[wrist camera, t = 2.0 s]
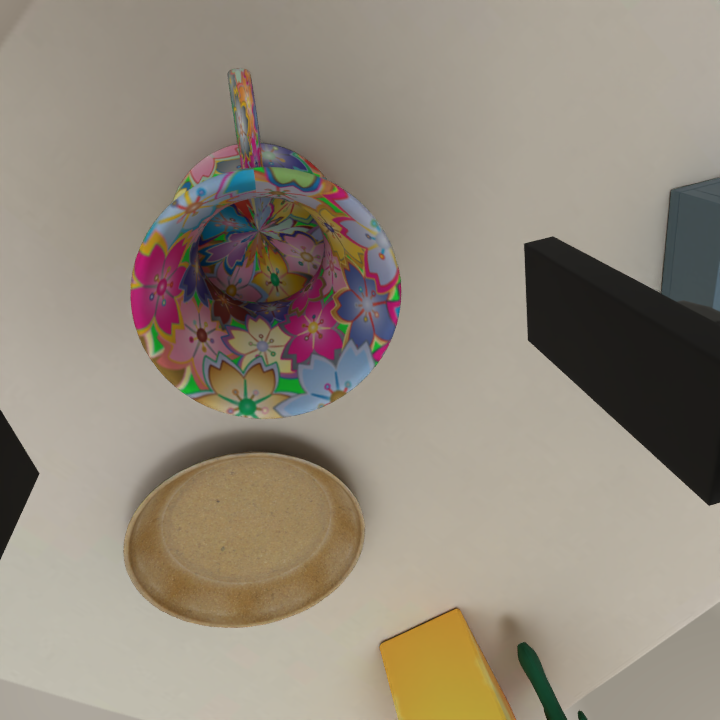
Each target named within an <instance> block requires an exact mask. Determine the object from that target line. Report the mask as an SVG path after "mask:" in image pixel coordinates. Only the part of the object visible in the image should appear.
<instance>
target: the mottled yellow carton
mask: <svg viewBox="0 0 720 720" xmlns="http://www.w3.org/2000/svg"><path fill="white" fill-rule="evenodd" d="M517 649H518V658H519V662H520V664H521V666H522V668H523V670H524V672H525V673H526V675H527V676H528V678H529V680H530V681H531V683H532V685H533V687H534V689H535V691H536V693H537V695H538V697H539V699H540V701H541V703H542V705H543V707H544V713H545V716H546V718H547V720H567V718H566V716H565V714H564V712H563V711H562V709H561V707H560V705H559V702H558V700H557V698H556V696H555V694H554V692H553V690H552V688H551V686H550V684H549V682H548V680H547V678H546V675H545V673H544V670H543V667H542V665H541V662H540V660H539V658H538V656H537V654H536V653H535V651H534V650H533V649H532V648H531V647H530V646H529V645H528V644H527V643H525V642H523V643H520V644H518V646H517ZM380 651H381V655H382V659H383V663H384V667H385V670H386V674H387V678H388V682H389V686H390V690H391V693H392V697H393V701H394V705H395V709H396V713H397V716H398V720H516V718H515V716H514V714H513V712H512V709H511V707H510V705H509V703H508V701H507V699H506V697H505V695H504V694H503V692H502V690H501V688H500V686H499V684H498V682H497V680H496V678H495V676H494V674H493V672H492V671H491V669H490V667H489V665H488V663H487V661H486V659H485V657H484V655H483V653H482V651H481V650H480V648H479V646H478V644H477V642H476V640H475V638H474V636H473V634H472V632H471V630H470V628H469V627H468V625H467V623H466V621H465V619H464V617H463V615H462V613H461V611H460V609H457V608H456V609H454V610H452V611H450V612H448V613H445V614H443V615H441V616H439V617H437V618H435V619H433V620H430V621H428V622H426V623H424V624H422V625H420V626H418V627H415V628H413V629H411V630H409V631H407V632H405V633H403V634H400V635H398V636H396V637H394V638H392V639H390V640H388V641H385V642H383V643H381V645H380ZM578 718H579V720H587V718H586V716H585V715H584V713H583V712H582V711H578Z"/></svg>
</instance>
